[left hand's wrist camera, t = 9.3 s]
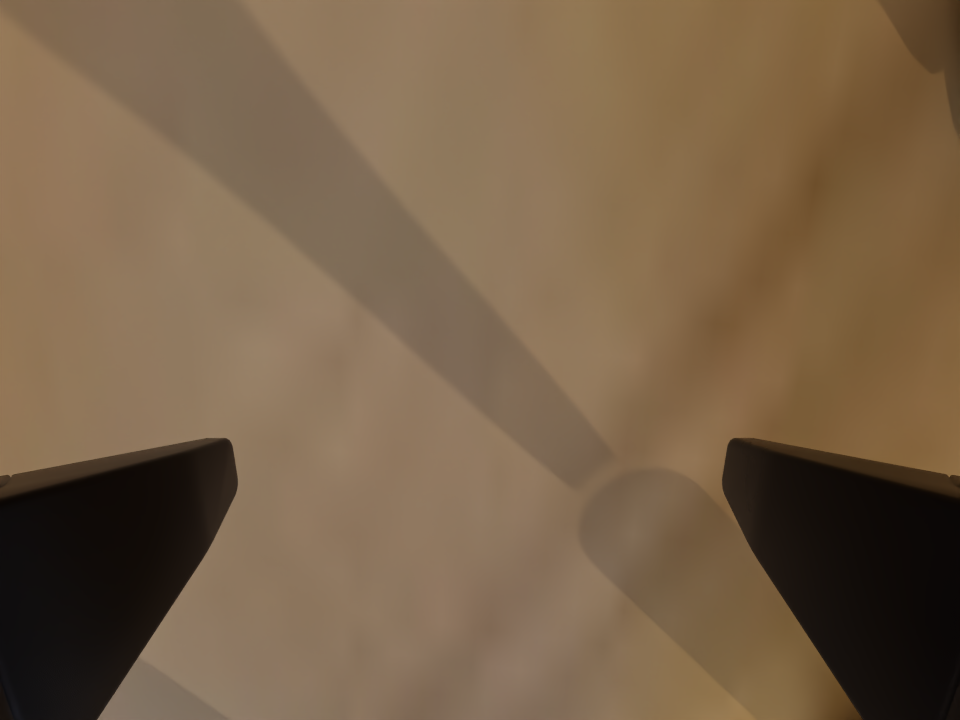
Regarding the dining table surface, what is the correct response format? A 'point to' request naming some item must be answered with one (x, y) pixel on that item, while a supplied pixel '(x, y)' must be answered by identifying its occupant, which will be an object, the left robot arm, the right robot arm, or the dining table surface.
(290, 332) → the dining table surface
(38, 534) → the left robot arm
